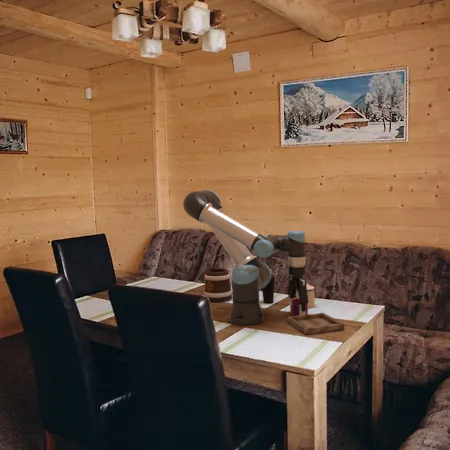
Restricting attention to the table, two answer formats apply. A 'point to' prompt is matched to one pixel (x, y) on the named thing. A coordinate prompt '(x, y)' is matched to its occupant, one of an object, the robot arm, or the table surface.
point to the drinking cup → (269, 290)
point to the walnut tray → (315, 323)
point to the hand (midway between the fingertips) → (297, 315)
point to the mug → (217, 285)
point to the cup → (297, 307)
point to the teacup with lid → (310, 295)
